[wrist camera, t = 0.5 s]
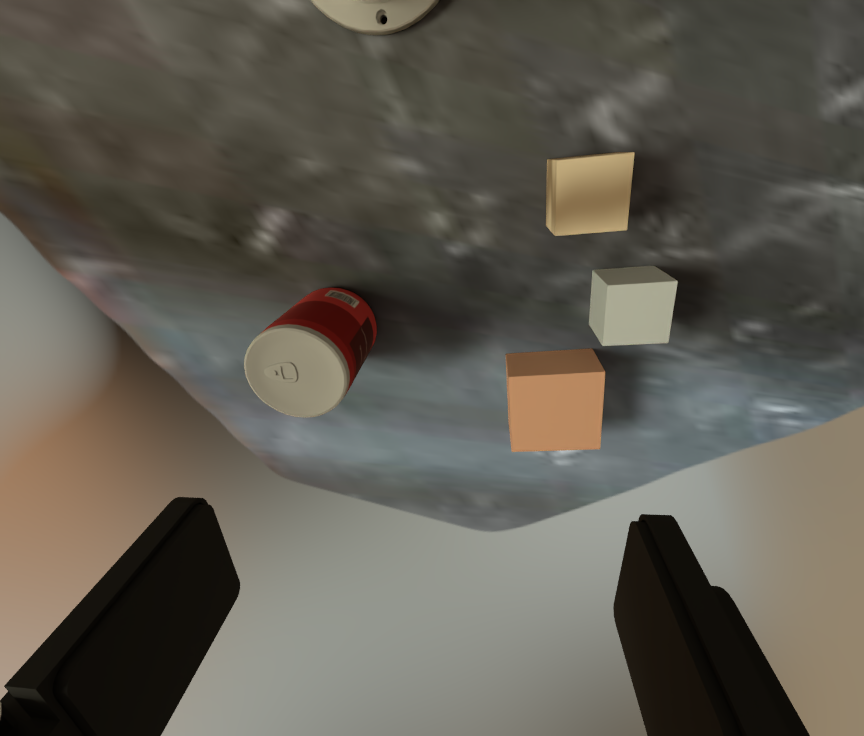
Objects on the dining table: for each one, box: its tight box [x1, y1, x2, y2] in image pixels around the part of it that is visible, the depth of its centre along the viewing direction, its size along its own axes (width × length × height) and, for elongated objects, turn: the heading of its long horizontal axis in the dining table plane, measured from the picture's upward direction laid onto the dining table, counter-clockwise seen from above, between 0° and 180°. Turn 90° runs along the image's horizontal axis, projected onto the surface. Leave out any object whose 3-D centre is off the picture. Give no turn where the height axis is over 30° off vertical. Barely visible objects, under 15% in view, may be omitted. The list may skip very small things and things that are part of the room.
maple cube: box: [546, 152, 635, 236], centre depth 32 cm, size 5×5×5 cm
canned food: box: [244, 288, 377, 417], centre depth 37 cm, size 8×8×11 cm
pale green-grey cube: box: [589, 266, 678, 346], centre depth 36 cm, size 5×5×5 cm
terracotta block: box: [506, 348, 605, 452], centre depth 40 cm, size 8×8×5 cm
